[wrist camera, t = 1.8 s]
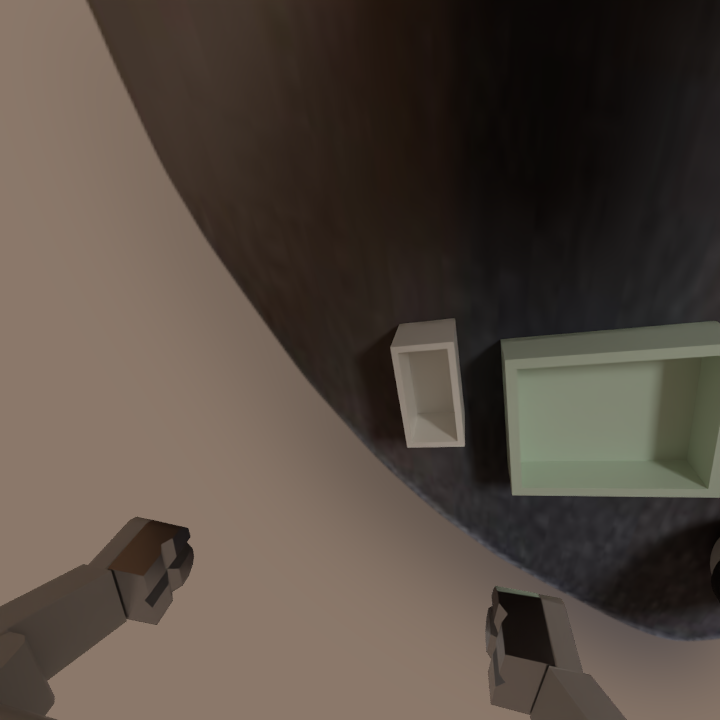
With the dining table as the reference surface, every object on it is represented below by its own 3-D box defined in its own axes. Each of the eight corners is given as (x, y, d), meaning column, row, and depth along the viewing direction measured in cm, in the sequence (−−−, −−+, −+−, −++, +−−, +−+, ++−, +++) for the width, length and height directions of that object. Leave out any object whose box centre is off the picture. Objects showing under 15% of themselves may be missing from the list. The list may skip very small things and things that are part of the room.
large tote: (715, 320, 30) (749, 342, 26) (693, 463, 34) (719, 497, 31) (500, 339, 34) (504, 360, 30) (507, 464, 38) (512, 495, 35)
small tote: (455, 318, 34) (453, 341, 29) (464, 412, 37) (464, 446, 33) (399, 323, 35) (390, 347, 30) (413, 414, 38) (407, 447, 34)
